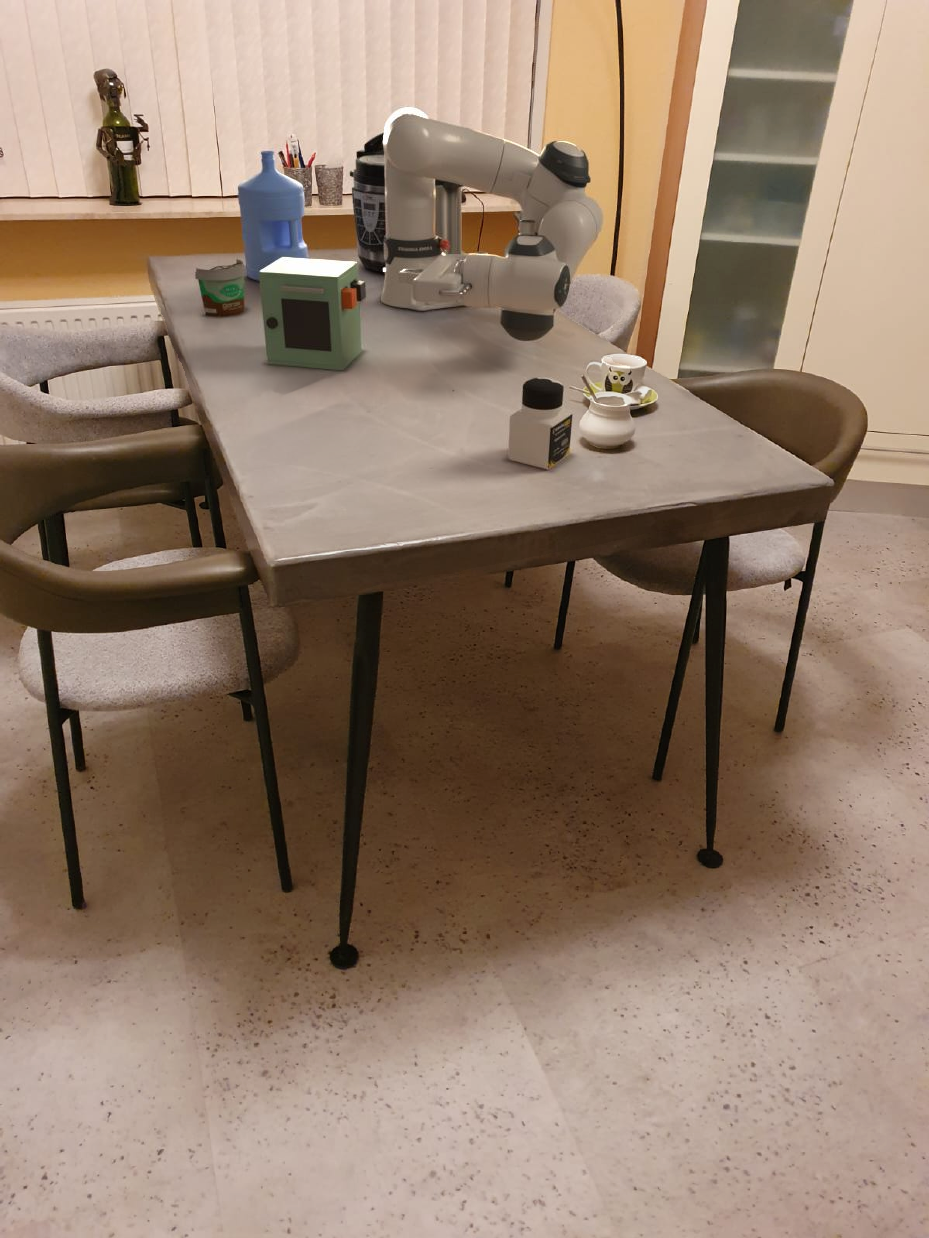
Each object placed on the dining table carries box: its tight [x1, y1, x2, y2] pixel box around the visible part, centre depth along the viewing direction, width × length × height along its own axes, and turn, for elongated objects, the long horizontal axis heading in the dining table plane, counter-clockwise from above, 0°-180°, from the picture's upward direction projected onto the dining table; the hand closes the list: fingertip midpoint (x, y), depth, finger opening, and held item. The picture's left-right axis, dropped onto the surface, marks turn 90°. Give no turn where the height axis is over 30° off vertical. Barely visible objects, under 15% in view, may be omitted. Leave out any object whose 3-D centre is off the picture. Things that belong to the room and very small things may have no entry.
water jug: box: [237, 150, 309, 282], centre depth 232 cm, size 16×16×28 cm
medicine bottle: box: [507, 376, 574, 470], centre depth 144 cm, size 7×7×12 cm
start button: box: [341, 288, 357, 309], centre depth 176 cm, size 3×3×3 cm
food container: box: [194, 258, 247, 318], centre depth 208 cm, size 12×6×10 cm, turn 143°
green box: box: [258, 257, 362, 371], centre depth 181 cm, size 15×13×17 cm
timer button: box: [350, 280, 367, 302], centre depth 180 cm, size 3×3×3 cm
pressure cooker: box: [349, 132, 464, 273], centre depth 242 cm, size 30×28×32 cm
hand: (400, 275), depth 172 cm, fingers closed
